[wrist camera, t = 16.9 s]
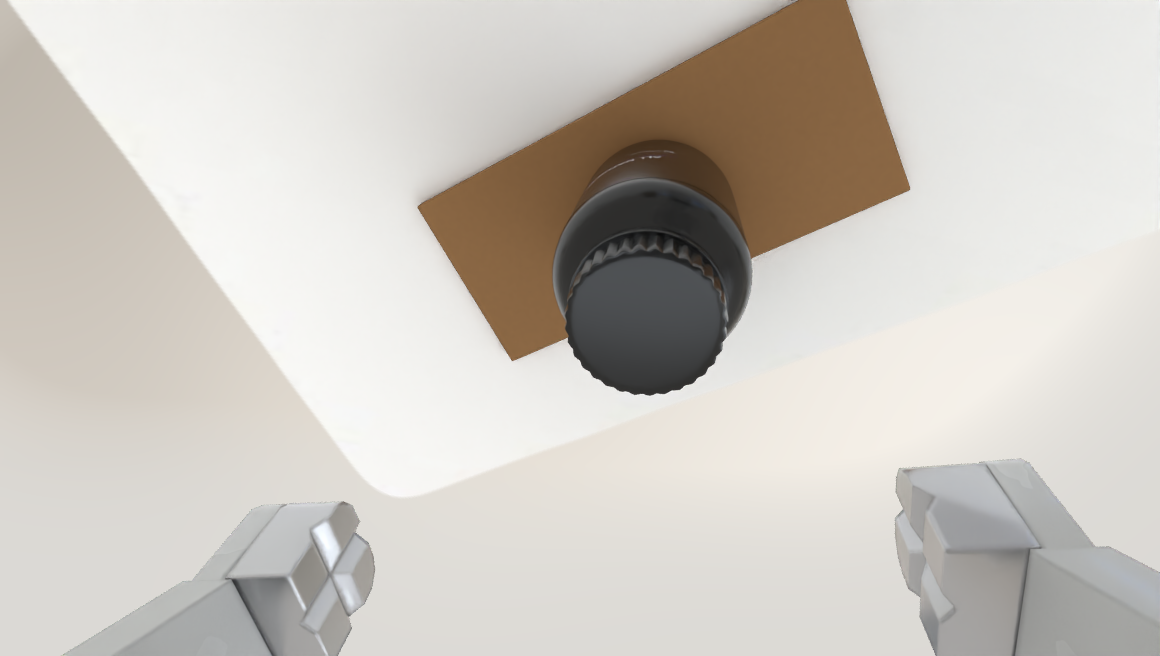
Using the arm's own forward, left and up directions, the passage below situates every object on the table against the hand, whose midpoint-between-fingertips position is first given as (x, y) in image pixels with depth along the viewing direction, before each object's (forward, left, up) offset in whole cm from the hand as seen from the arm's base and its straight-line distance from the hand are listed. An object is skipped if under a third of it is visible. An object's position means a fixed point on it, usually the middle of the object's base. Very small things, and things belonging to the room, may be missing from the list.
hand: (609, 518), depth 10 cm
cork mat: (0, +1, -22) cm, 22 cm away
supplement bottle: (0, +1, -22) cm, 22 cm away
